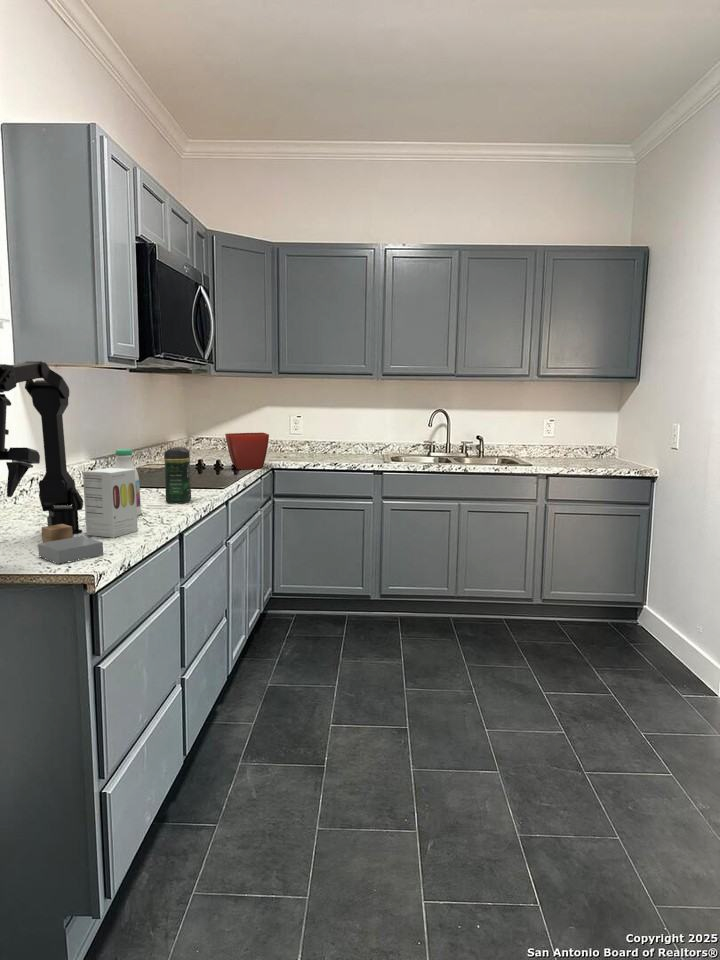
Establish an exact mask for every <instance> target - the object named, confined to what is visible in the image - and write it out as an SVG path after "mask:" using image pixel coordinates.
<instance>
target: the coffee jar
mask: <svg viewBox="0 0 720 960" xmlns="http://www.w3.org/2000/svg"><path fill="white" fill-rule="evenodd" d="M163 455H164V456H163V459H164V474H165V476H164V478H165V479H164V480H165V481H164V482H165V502H166V503H170V504H173V503H178V504H180V503H181V504H182V502H184V503H183V504H186V503H188V502H190V501H191V500H192V487H191V484H192V483H191V457H190V455H191V454H190V450H189V449H188V448H186V447H182V446H175V447H171V448H169V449H167V450H165V451H164V452H163Z"/></svg>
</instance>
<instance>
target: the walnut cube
mask: <svg viewBox="0 0 720 960" xmlns="http://www.w3.org/2000/svg"><path fill="white" fill-rule="evenodd" d="M73 536H74V533H72V526H68V525H65V524H58V525H52V526H48V525H46V526H41V537H42V538H41V539H42V543H45V542H50V541H56V540H62V539H67V538H73Z"/></svg>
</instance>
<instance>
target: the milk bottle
mask: <svg viewBox="0 0 720 960" xmlns="http://www.w3.org/2000/svg"><path fill="white" fill-rule="evenodd" d="M132 457H133V450H132V448H123V449H121V448H119V449H115V458H116V462H115V467H114V468H122V469H135V483H136V504H137V517H138V516H140V515H141V514H142V508H141V507H142V506H141V491H140V489H141V488H140V478H139V473H138V470H137V468H136V466H135V465H134V462H133V459H132Z"/></svg>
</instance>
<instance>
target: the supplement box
mask: <svg viewBox="0 0 720 960" xmlns="http://www.w3.org/2000/svg"><path fill="white" fill-rule="evenodd" d="M82 481H83V497H84V498H83V501H84V514H85V532H86V535H87V536H93V537H94V536H96V537H103V538H111V539H113V538H117V537H121V536H125V535H127V534H132V533H136V532H138V531H139V530H138V529H139V527H138V516H137V504H136V483H135V469H122V468H115V467H106V468H100V469H99V468H98V469H92V470H84V471H82Z"/></svg>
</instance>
